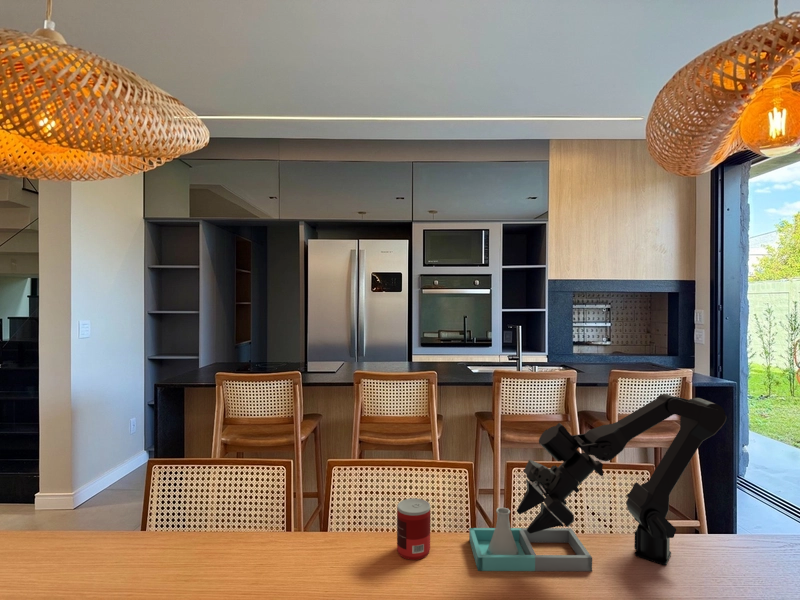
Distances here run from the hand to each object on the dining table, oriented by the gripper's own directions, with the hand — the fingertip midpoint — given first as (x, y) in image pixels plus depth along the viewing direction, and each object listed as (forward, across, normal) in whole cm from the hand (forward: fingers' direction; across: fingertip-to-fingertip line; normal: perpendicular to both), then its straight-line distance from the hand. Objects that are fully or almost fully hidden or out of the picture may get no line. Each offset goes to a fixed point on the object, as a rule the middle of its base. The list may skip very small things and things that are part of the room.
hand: (522, 521), depth 112 cm
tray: (+5, 0, +6) cm, 8 cm away
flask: (+9, 0, +2) cm, 9 cm away
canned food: (+23, -1, -13) cm, 27 cm away
